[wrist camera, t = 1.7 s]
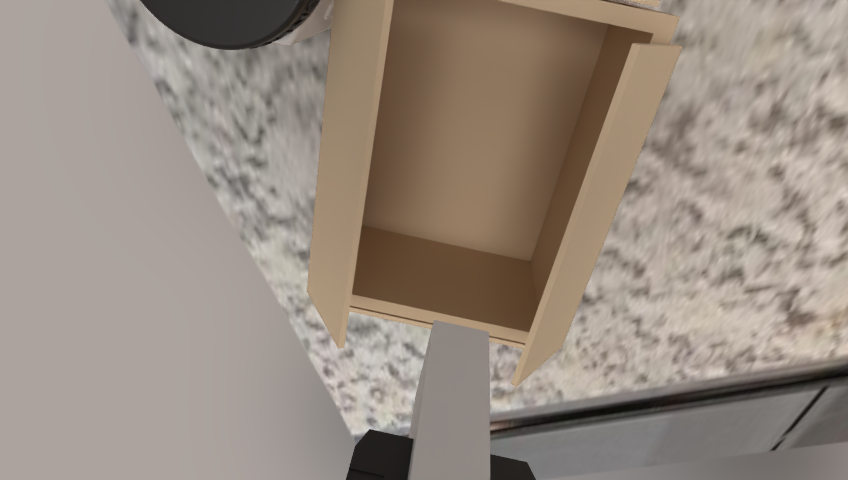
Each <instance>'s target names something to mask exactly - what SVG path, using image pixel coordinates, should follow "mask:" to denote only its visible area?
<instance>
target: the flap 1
mask: <svg viewBox="0 0 848 480" xmlns="http://www.w3.org/2000/svg"><path fill="white" fill-rule="evenodd" d="M393 3H394V0H334V4H333V15H332V26H331V37H330V47H329V58H328V69H327V80H326V90H325V101H324V112H323V123H322V133H321V144H320V155H319V166H318V176H317V187H316V198H315V209H314V219H313V230H312V241H311V252H310V262H309V273H308V284H307V292H308V294H309V296H310V298H311V300H312V302H313V303H314V305H315V307H316V309H317V311H318V313H319V314H320V316H321V318H322V320H323V322H324V323H325V325H326V327H327V329H328V331H329V333H330V334H331V336H332V338H333V340H334V342H335V344H336V345H337V347H338V349H339V348H344V344H345V337H346V330H347V323H348V316H349V309H350V302H351V295H352V288H353V282H354V275H355V268H356V261H357V254H358V247H359V240H360V233H361V226H362V219H363V212H364V205H365V198H366V191H367V184H368V177H369V170H370V163H371V156H372V149H373V142H374V135H375V128H376V121H377V114H378V107H379V100H380V93H381V86H382V79H383V72H384V65H385V58H386V51H387V44H388V37H389V30H390V23H391V16H392V9H393Z"/></svg>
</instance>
